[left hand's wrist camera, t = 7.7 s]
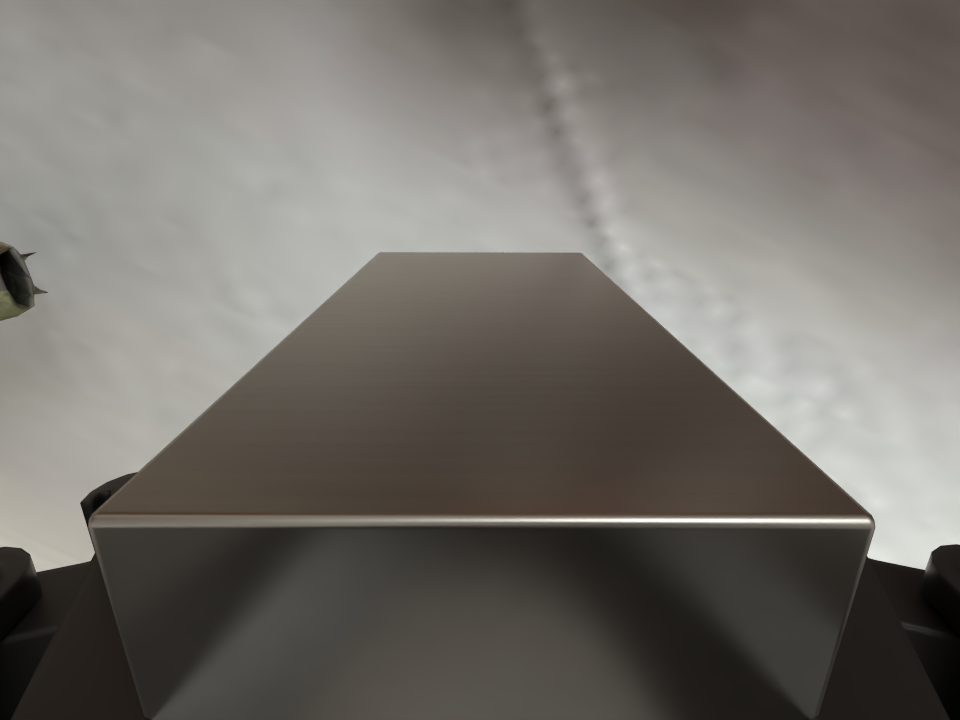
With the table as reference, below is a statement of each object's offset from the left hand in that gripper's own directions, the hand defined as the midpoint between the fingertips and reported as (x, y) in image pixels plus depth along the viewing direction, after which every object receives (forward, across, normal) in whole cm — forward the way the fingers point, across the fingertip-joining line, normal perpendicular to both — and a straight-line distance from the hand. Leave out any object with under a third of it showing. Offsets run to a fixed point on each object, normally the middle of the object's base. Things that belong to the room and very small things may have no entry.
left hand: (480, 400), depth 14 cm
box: (+3, 0, -7) cm, 8 cm away
